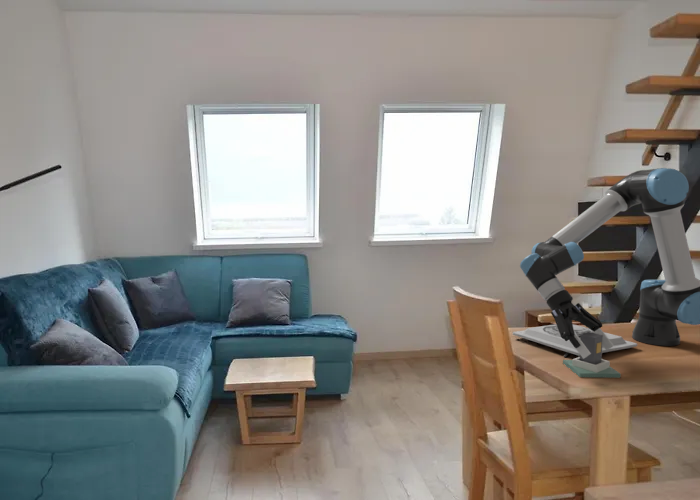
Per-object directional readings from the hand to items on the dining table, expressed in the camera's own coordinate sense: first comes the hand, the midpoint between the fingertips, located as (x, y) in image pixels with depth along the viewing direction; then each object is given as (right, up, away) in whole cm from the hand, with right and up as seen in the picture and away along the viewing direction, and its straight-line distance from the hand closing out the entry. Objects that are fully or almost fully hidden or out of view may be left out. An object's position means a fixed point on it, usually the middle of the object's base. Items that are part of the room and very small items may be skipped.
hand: (599, 352), depth 146 cm
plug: (-2, -5, +3) cm, 6 cm away
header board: (-1, -6, +3) cm, 7 cm away
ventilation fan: (+6, -3, +30) cm, 30 cm away
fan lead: (-1, -4, +18) cm, 19 cm away
